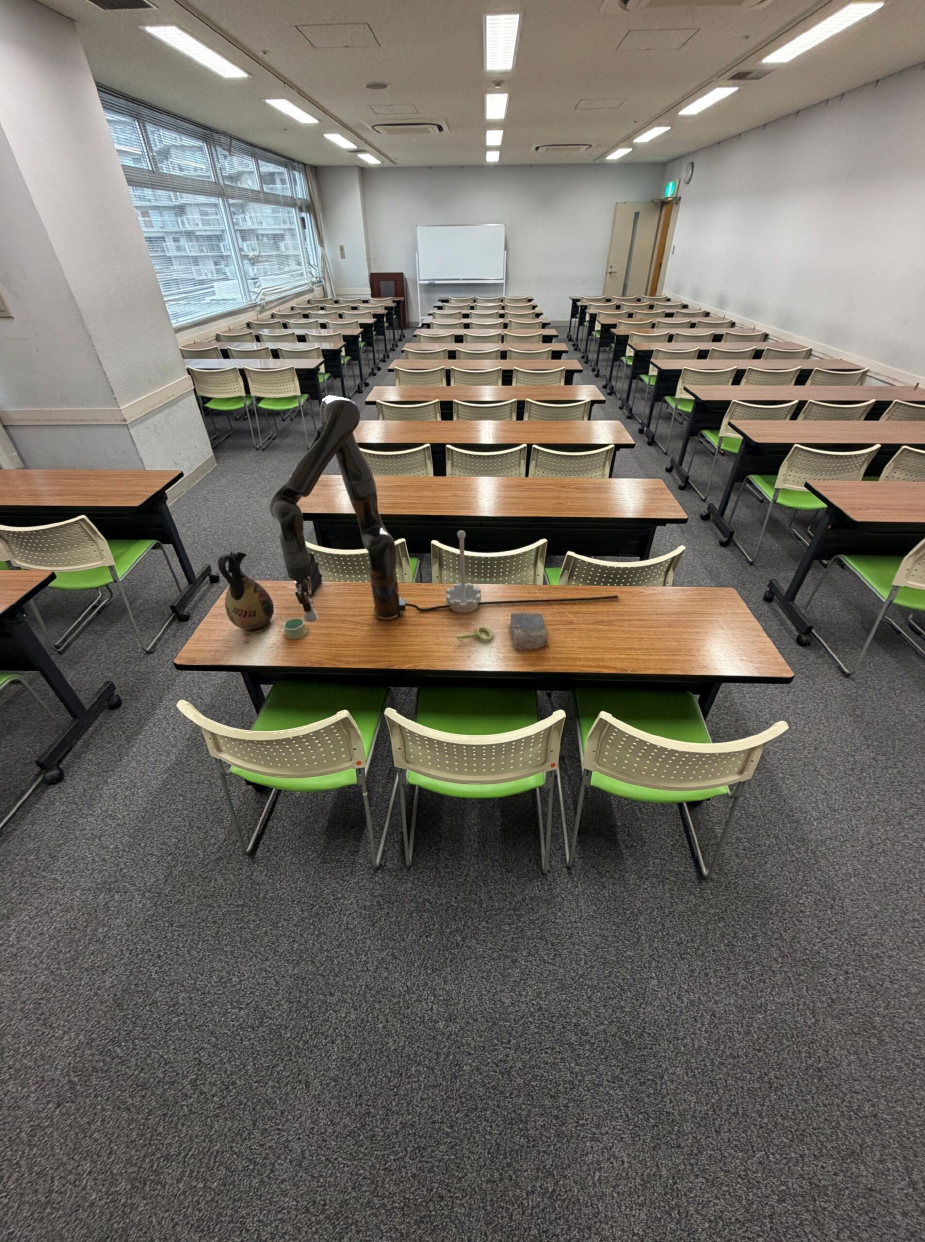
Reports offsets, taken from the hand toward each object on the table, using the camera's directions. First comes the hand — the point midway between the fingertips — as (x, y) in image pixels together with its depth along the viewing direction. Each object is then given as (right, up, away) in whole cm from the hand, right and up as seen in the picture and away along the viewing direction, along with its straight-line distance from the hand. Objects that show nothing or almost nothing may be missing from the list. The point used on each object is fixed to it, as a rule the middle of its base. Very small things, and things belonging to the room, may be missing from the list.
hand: (308, 607), depth 167 cm
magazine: (-9, +8, +35) cm, 37 cm away
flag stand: (+51, +2, +25) cm, 56 cm away
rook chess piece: (0, -4, +3) cm, 5 cm away
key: (+55, -10, +8) cm, 56 cm away
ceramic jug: (-24, -7, +16) cm, 30 cm away
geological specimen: (+73, -10, +7) cm, 74 cm away
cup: (-8, -9, +13) cm, 17 cm away
